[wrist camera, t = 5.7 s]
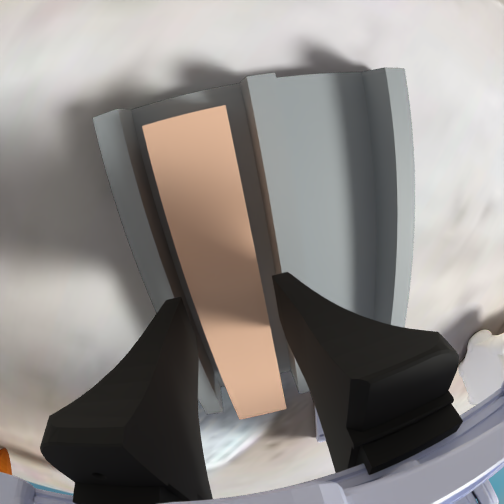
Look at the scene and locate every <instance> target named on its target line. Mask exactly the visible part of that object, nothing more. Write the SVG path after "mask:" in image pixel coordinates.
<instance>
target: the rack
mask: <svg viewBox="0 0 504 504" xmlns="http://www.w3.org/2000/svg"><path fill="white" fill-rule="evenodd" d="M223 105H226V110H227V115H228V120H229V125H230V129H231V134H232V139H233V144H234V149H235V154H236V159H237V164H238V169H239V174H240V178H241V183H242V188H243V193H244V198H245V203H246V208H247V213H248V218H249V223H250V228H251V233H252V238H253V243H254V248H255V253H256V258H257V263H258V268H259V273H260V278H261V283H262V288H263V293H264V298H265V303H266V308H267V313H268V318H269V323H270V328H271V333H272V338H273V343H274V348H275V353H276V358H277V363H278V368H279V373H284V372H288V371H291V372H292V374H293V377H294V380H295V383H296V386H297V389H298V392H299V394H302V393H306V392H309V391H310V390H309V388H308V385H307V383H306V381H305V378H304V376H303V374H302V372H301V370H300V368H299V366H298V364H297V361H296V359H295V357H294V355H293V353H292V351H291V349H290V347H289V344H288V342H287V340H286V337H285V334H284V331H283V328H282V325H281V322H280V319H279V314H278V308H277V302H276V296H275V291H274V285H273V279H272V275H276V274H280V273H284V272H289V273H290V274H292V275H293V276H294V277H296V278H297V279H298V280H300V281H301V282H302V283H304V284H305V285H306V286H308V287H309V288H311V289H312V290H314V291H315V292H317V293H318V294H320V295H321V296H323V297H324V298H326V299H328V300H329V301H331V302H333V303H335V304H337V305H339V306H341V307H343V308H345V309H347V310H349V311H352V312H354V313H356V314H358V315H361V316H364V317H366V318H370V319H373V320H376V321H379V322H382V323H386V324H390V325H394V326H399V327H403V328H404V327H405V320H406V314H407V306H408V299H409V291H410V282H411V271H412V260H413V245H414V224H415V168H414V147H413V133H412V122H411V112H410V103H409V95H408V88H407V81H406V75H405V69H404V68H380V69H374V70H369V71H364V72H342V73H322V74H308V75H297V76H287V77H278V78H276V75H275V73H267V74H260V75H253V76H247V77H246V78H245V79H244V80H243V81H242V82H241V83H238V84H232V85H227V86H221V87H216V88H212V89H207V90H202V91H198V92H194V93H189V94H185V95H181V96H177V97H173V98H170V99H166V100H162V101H159V102H155V103H152V104H148V105H145V106H142V107H138V108H135V109H132V110H128V109H115V110H113V111H110V112H107V113H104V114H101V115H99V116H96V117H94V118H93V122H94V127H95V131H96V135H97V139H98V143H99V147H100V151H101V155H102V159H103V162H104V166H105V170H106V173H107V177H108V180H109V183H110V187H111V190H112V193H113V197H114V200H115V203H116V206H117V209H118V213H119V216H120V219H121V222H122V225H123V228H124V230H125V233H126V236H127V239H128V242H129V245H130V247H131V250H132V253H133V256H134V258H135V261H136V264H137V266H138V269H139V271H140V274H141V277H142V279H143V282H144V284H145V287H146V289H147V292H148V294H149V296H150V299H151V301H152V304H153V306H154V308H155V311H156V313H157V312H158V311H159V309H160V308H161V306H162V305H163V304H164V302H165V301H166V300H168V299H173V298H177V297H181V298H182V300H183V303H184V306H185V308H186V311H187V314H188V316H189V319H190V322H191V324H192V327H193V329H194V332H195V335H196V338H197V347H198V357H199V371H198V400H199V402H200V403H201V405H202V407H203V409H204V411H205V412H206V414H207V415H208V414H214V413H219V412H223V405H222V396H221V387H223V386H225V384H224V382H223V379H222V377H221V374H220V372H219V369H218V367H217V364H216V362H215V359H214V357H213V354H212V351H211V349H210V346H209V344H208V341H207V338H206V336H205V333H204V330H203V327H202V325H201V322H200V319H199V316H198V314H197V311H196V308H195V305H194V302H193V299H192V297H191V294H190V291H189V288H188V285H187V282H186V279H185V276H184V273H183V270H182V267H181V264H180V261H179V258H178V254H177V251H176V248H175V245H174V242H173V238H172V235H171V232H170V229H169V225H168V222H167V218H166V215H165V212H164V208H163V205H162V201H161V198H160V194H159V190H158V187H157V183H156V179H155V176H154V172H153V168H152V164H151V160H150V157H149V153H148V149H147V145H146V140H145V136H144V132H143V128H142V126H144V125H147V124H151V123H154V122H157V121H161V120H165V119H168V118H172V117H176V116H180V115H184V114H188V113H192V112H196V111H200V110H205V109H209V108H214V107H218V106H223Z"/></svg>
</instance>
